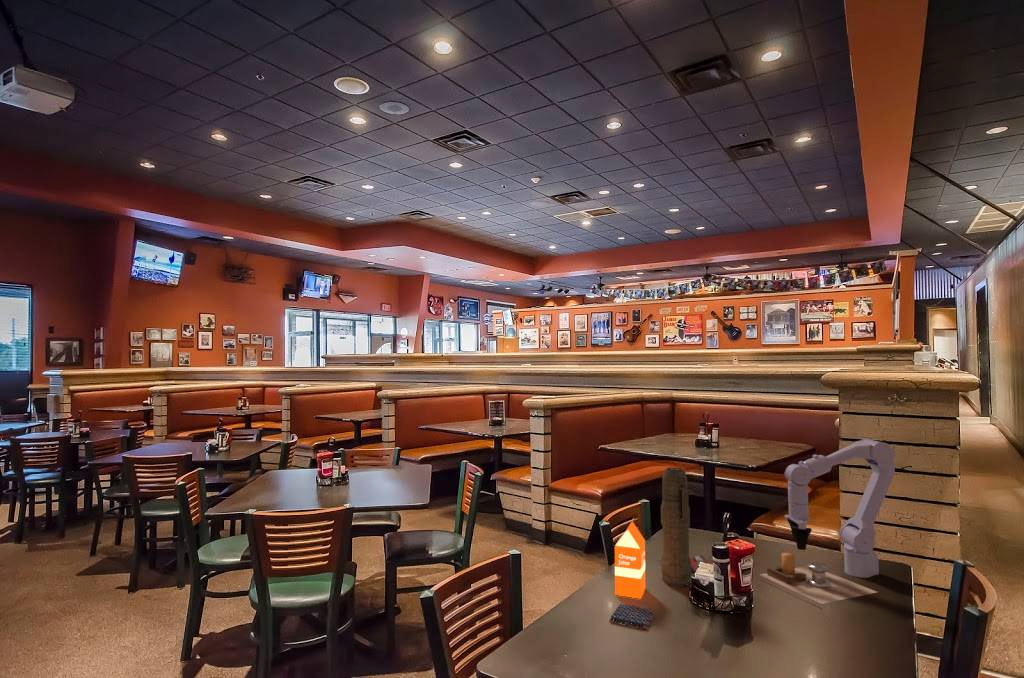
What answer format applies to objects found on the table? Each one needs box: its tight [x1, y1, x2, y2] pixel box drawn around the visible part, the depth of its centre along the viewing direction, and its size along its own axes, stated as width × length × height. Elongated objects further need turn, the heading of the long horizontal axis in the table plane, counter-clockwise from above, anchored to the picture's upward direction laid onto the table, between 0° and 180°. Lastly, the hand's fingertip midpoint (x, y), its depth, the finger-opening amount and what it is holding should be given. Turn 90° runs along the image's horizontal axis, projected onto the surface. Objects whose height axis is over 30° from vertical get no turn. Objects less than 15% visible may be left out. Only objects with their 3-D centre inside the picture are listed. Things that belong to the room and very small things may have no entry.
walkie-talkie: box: [690, 554, 707, 575], centre depth 187 cm, size 9×4×20 cm
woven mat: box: [608, 603, 655, 631], centre depth 152 cm, size 10×11×2 cm
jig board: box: [759, 565, 878, 610], centre depth 172 cm, size 22×23×2 cm
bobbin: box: [806, 561, 831, 588], centre depth 171 cm, size 6×6×6 cm
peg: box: [781, 552, 796, 575], centre depth 176 cm, size 4×4×7 cm
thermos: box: [660, 466, 692, 587], centre depth 178 cm, size 9×12×35 cm
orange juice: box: [614, 520, 646, 600], centre depth 170 cm, size 8×9×20 cm
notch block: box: [766, 565, 806, 584], centre depth 176 cm, size 8×8×2 cm
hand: (799, 545), depth 181 cm, fingers open, 7 cm apart
